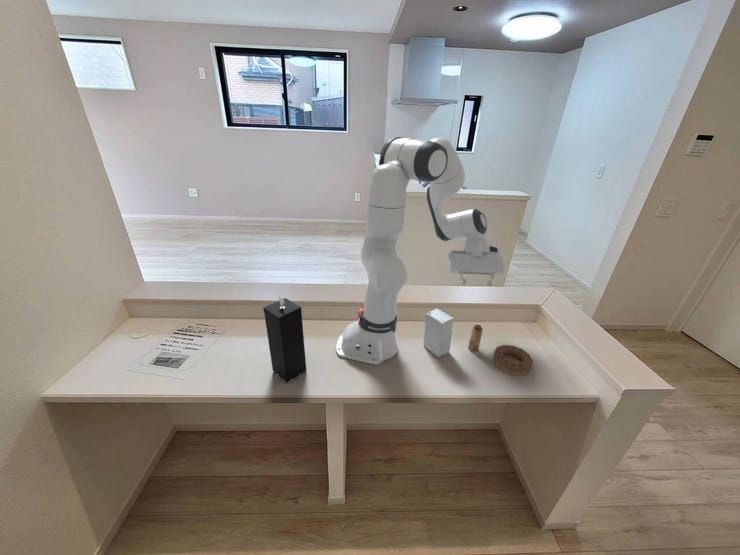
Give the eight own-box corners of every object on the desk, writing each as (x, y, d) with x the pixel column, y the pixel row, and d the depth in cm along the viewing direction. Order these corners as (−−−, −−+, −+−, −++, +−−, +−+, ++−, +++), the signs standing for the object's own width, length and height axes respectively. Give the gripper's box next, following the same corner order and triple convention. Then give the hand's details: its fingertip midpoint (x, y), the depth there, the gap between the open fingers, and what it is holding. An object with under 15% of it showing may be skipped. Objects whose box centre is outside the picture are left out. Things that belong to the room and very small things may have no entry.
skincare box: (449, 352, 113) (455, 318, 106) (437, 358, 110) (442, 323, 103) (433, 340, 119) (438, 307, 113) (421, 345, 116) (425, 312, 110)
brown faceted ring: (498, 373, 104) (500, 366, 103) (489, 350, 115) (491, 343, 113) (535, 376, 103) (538, 369, 102) (523, 353, 114) (525, 346, 112)
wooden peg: (469, 351, 114) (473, 329, 109) (467, 345, 117) (471, 323, 113) (479, 352, 113) (484, 329, 109) (477, 346, 117) (482, 324, 112)
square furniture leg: (287, 383, 97) (277, 307, 85) (272, 371, 102) (261, 297, 90) (306, 370, 103) (300, 297, 90) (292, 359, 107) (284, 288, 95)
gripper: (449, 246, 120) (450, 280, 115) (504, 248, 118) (507, 283, 113) (447, 253, 126) (447, 285, 121) (499, 255, 124) (501, 288, 119)
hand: (476, 284), depth 117 cm, fingers open, 8 cm apart
